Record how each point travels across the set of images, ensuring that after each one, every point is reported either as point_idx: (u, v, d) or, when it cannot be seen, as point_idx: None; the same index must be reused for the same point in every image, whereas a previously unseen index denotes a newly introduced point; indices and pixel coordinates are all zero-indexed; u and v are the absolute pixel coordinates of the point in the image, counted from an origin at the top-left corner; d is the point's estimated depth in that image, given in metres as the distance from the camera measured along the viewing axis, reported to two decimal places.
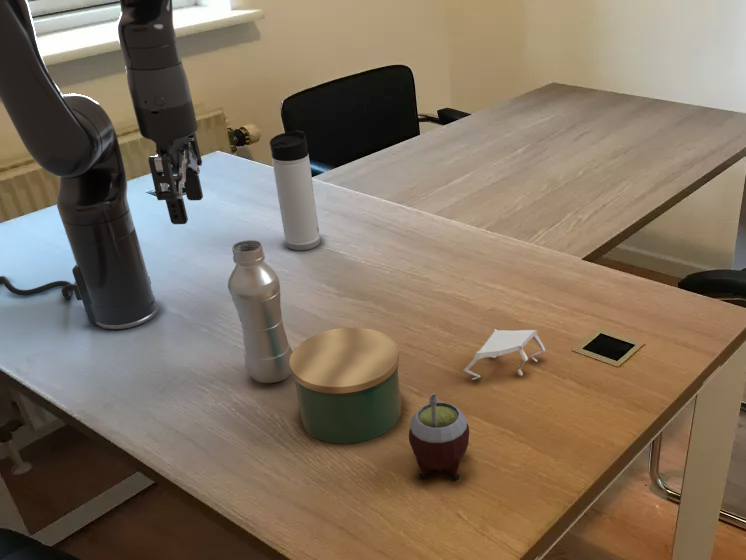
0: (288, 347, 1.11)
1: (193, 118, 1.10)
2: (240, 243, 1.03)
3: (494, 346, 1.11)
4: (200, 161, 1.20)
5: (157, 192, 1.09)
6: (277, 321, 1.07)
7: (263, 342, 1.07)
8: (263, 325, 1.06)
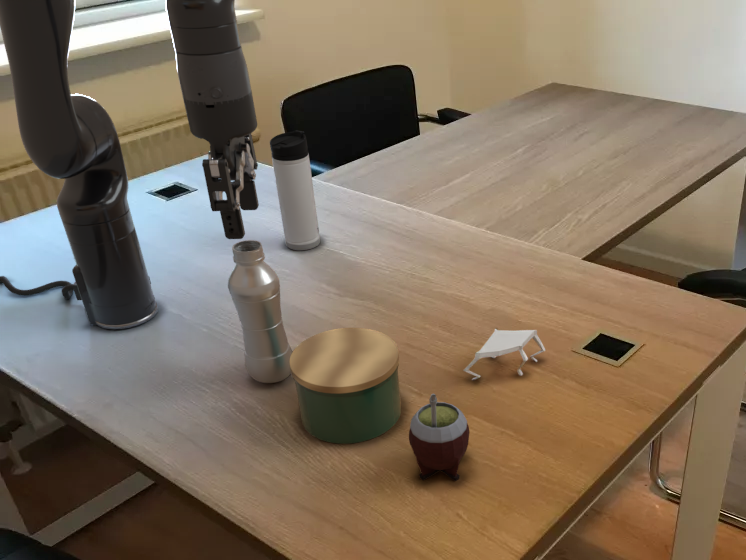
0: (288, 347, 1.11)
1: (253, 113, 0.92)
2: (240, 243, 1.03)
3: (494, 346, 1.11)
4: (256, 164, 1.02)
5: (212, 202, 0.91)
6: (277, 321, 1.07)
7: (263, 342, 1.07)
8: (263, 325, 1.06)
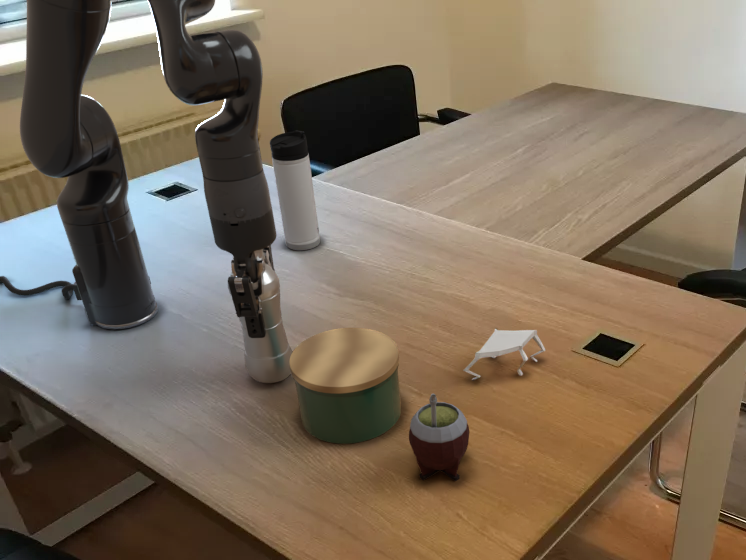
0: (288, 347, 1.11)
1: (273, 226, 1.00)
2: None
3: (494, 346, 1.11)
4: None
5: (237, 311, 1.00)
6: (277, 321, 1.07)
7: (263, 343, 1.07)
8: None
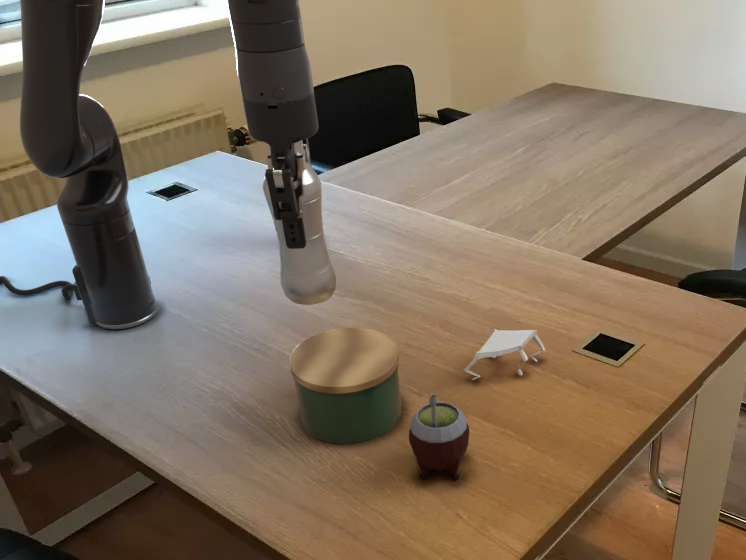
0: (330, 264, 0.97)
1: (315, 114, 0.87)
2: None
3: (494, 346, 1.11)
4: None
5: (275, 212, 0.87)
6: (318, 231, 0.94)
7: (302, 256, 0.94)
8: None
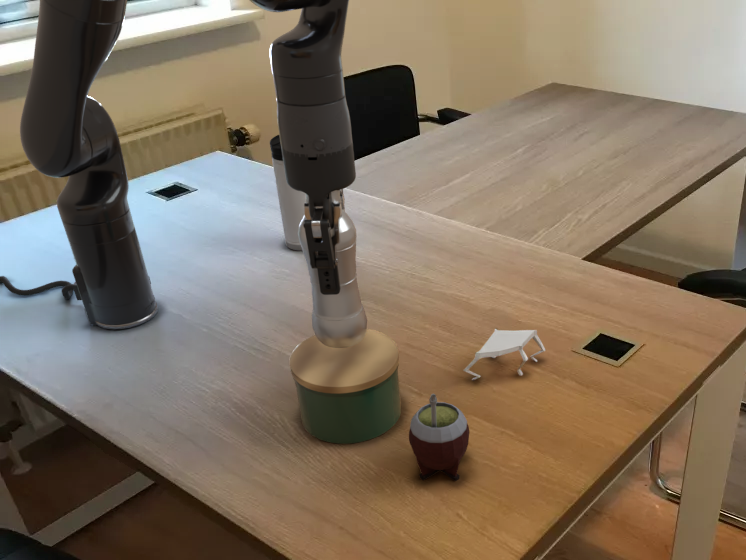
0: (362, 307, 0.97)
1: (353, 164, 0.87)
2: None
3: (494, 346, 1.11)
4: None
5: (312, 261, 0.87)
6: (352, 276, 0.94)
7: (335, 301, 0.94)
8: None
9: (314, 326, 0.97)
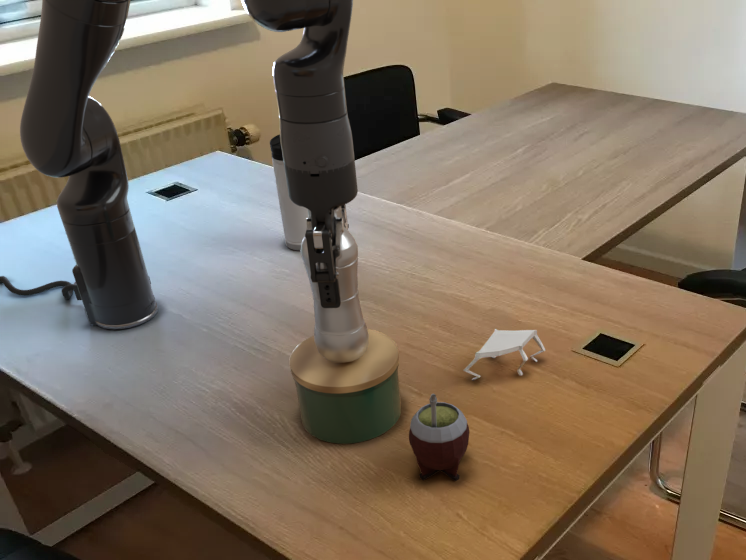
0: (363, 322, 0.99)
1: (355, 179, 0.88)
2: None
3: (494, 346, 1.11)
4: (347, 226, 0.98)
5: (313, 273, 0.87)
6: (354, 292, 0.95)
7: (337, 316, 0.95)
8: None
9: (316, 341, 0.98)
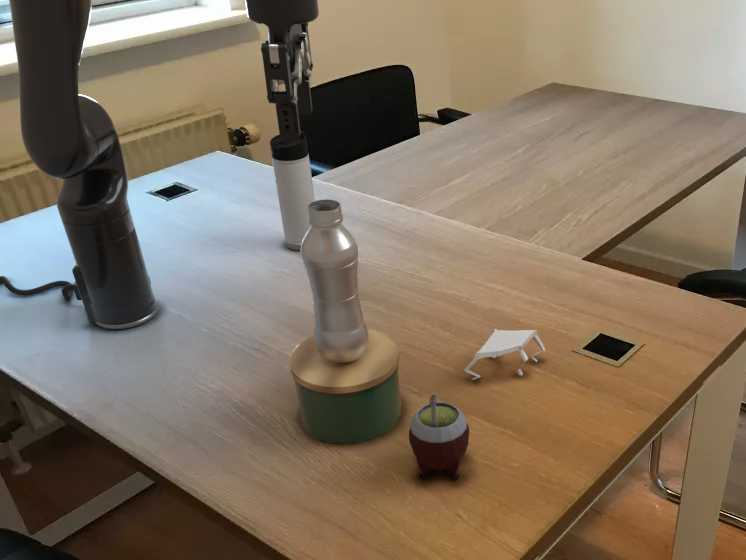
0: (363, 322, 0.99)
1: None
2: (315, 203, 0.91)
3: (494, 346, 1.11)
4: (311, 65, 0.96)
5: (269, 92, 0.84)
6: (354, 292, 0.95)
7: (337, 316, 0.95)
8: (339, 296, 0.94)
9: (316, 341, 0.98)
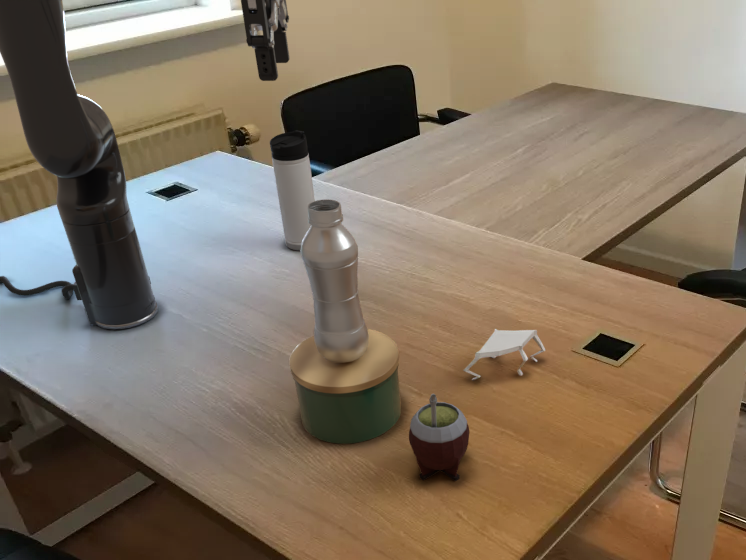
0: (363, 322, 0.99)
1: None
2: (315, 203, 0.91)
3: (494, 346, 1.11)
4: (287, 17, 1.05)
5: (248, 35, 0.93)
6: (354, 292, 0.95)
7: (337, 316, 0.95)
8: (339, 296, 0.94)
9: (316, 341, 0.98)
